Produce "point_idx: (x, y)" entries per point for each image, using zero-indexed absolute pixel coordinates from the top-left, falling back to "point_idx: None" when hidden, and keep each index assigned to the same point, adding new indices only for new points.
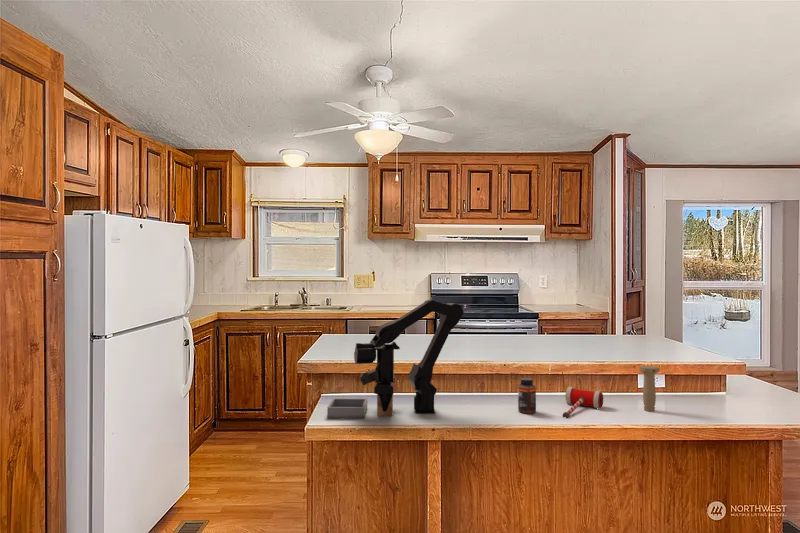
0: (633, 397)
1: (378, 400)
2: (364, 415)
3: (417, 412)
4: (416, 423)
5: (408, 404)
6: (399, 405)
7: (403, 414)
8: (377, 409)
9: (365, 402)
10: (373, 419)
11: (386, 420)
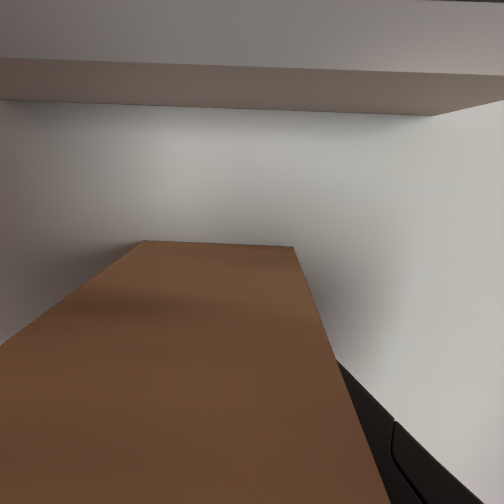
0: None
1: (2, 372)
2: (10, 94)
3: None
4: None
5: (480, 459)
6: (472, 409)
7: None
8: (110, 269)
9: (235, 48)
10: (14, 208)
11: (23, 317)
